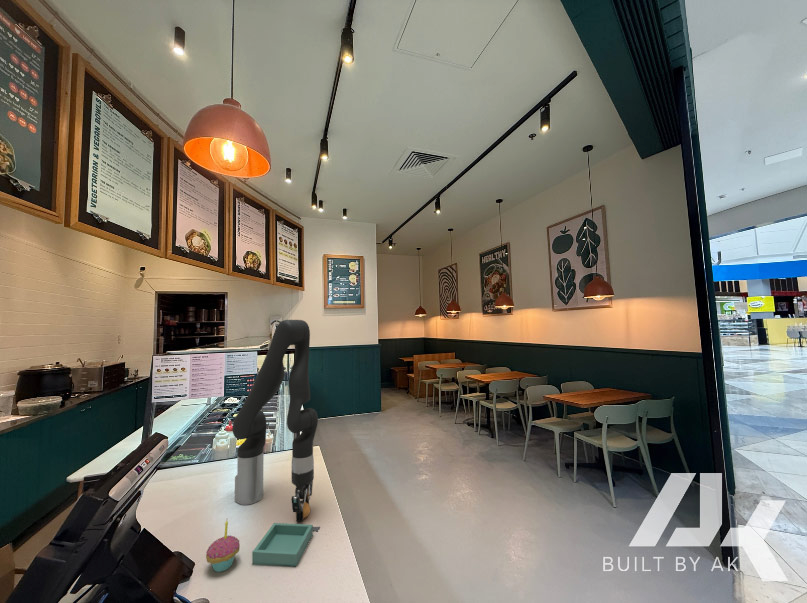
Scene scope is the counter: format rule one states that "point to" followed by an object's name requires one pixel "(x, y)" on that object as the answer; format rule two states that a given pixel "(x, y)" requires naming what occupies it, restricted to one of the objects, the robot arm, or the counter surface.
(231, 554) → the cupcake
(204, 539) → the counter surface
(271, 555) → the tray
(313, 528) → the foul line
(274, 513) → the counter surface
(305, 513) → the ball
